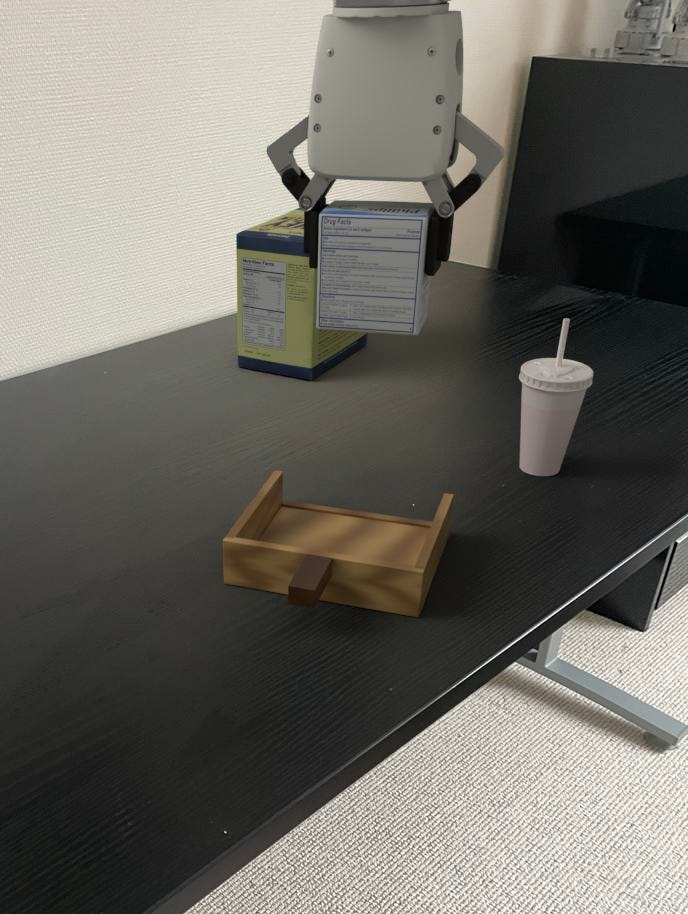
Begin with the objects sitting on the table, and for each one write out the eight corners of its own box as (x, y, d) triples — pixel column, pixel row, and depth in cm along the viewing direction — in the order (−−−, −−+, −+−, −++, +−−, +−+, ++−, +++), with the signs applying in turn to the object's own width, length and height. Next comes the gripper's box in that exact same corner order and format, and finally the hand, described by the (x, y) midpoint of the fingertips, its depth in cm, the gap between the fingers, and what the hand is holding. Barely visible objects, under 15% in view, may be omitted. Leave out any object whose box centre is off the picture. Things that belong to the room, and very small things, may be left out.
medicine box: (427, 320, 77) (438, 201, 72) (417, 338, 73) (428, 214, 68) (328, 314, 79) (332, 198, 74) (314, 331, 75) (318, 211, 71)
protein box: (368, 343, 125) (377, 213, 116) (311, 382, 114) (316, 242, 105) (296, 332, 130) (298, 206, 121) (235, 368, 119) (233, 232, 110)
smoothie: (579, 459, 95) (608, 314, 87) (569, 487, 90) (599, 335, 82) (511, 450, 97) (534, 307, 89) (498, 476, 93) (521, 327, 85)
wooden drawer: (449, 534, 84) (454, 492, 81) (405, 653, 70) (410, 606, 68) (275, 508, 89) (275, 468, 86) (201, 615, 75) (199, 570, 72)
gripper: (537, -18, 64) (500, 262, 74) (281, -11, 69) (279, 249, 79) (523, -14, 58) (485, 289, 68) (245, -6, 63) (248, 273, 73)
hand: (374, 266), depth 73 cm, fingers closed on medicine box, 8 cm apart
